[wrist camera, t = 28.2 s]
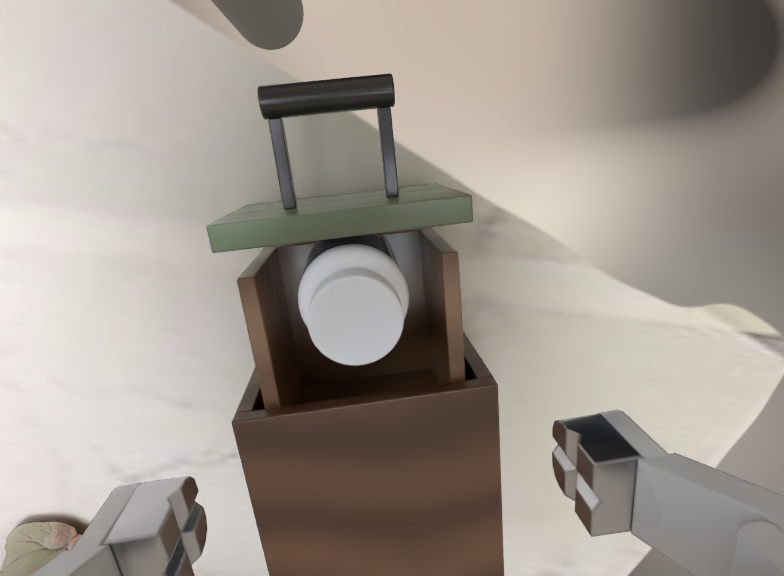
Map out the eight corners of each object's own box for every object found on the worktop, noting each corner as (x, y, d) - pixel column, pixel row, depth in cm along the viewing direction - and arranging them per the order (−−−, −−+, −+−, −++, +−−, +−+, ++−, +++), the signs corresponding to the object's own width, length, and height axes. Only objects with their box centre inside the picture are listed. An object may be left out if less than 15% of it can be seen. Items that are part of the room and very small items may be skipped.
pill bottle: (290, 254, 26) (262, 303, 17) (365, 206, 25) (375, 233, 17) (339, 324, 27) (337, 400, 19) (411, 280, 27) (441, 338, 18)
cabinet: (267, 338, 29) (230, 422, 20) (452, 313, 30) (498, 383, 21) (300, 501, 33) (283, 633, 24) (462, 476, 34) (505, 594, 25)
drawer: (225, 104, 24) (172, 82, 17) (430, 84, 25) (465, 54, 17) (283, 391, 29) (262, 471, 22) (449, 367, 30) (483, 437, 23)
